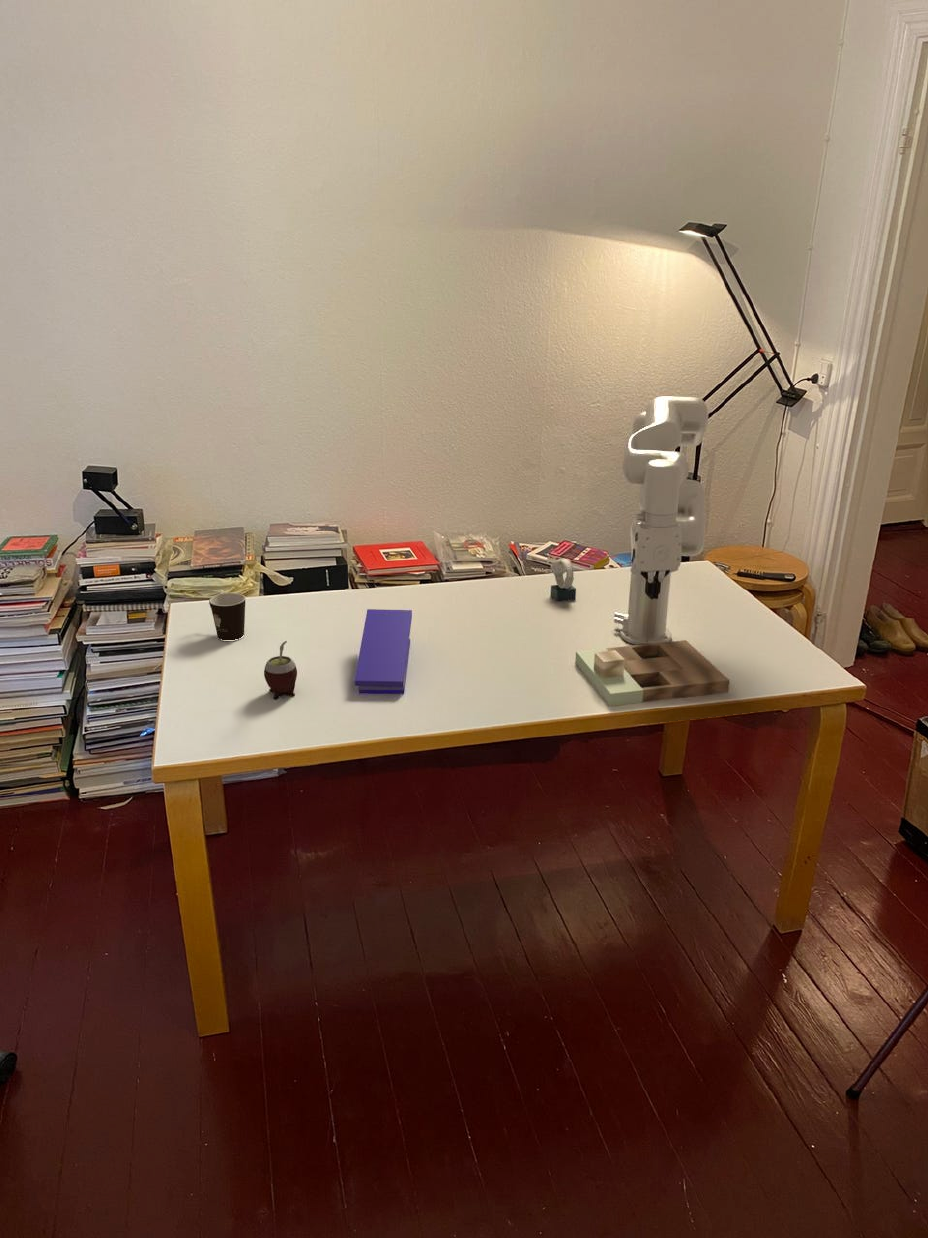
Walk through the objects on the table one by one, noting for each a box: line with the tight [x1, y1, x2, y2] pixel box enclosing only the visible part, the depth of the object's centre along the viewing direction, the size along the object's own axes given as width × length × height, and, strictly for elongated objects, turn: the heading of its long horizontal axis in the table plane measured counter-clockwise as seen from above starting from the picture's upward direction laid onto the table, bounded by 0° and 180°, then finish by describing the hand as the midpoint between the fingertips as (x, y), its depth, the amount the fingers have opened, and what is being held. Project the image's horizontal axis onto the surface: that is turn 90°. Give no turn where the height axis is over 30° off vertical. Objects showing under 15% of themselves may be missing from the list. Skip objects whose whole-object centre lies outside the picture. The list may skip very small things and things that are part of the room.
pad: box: [574, 647, 643, 707], centre depth 226 cm, size 8×22×3 cm, turn 14°
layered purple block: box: [353, 608, 413, 695], centre depth 231 cm, size 12×28×10 cm, turn 0°
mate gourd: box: [263, 640, 298, 701], centre depth 217 cm, size 8×8×15 cm
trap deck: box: [606, 640, 731, 703], centre depth 229 cm, size 20×22×3 cm
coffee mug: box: [208, 592, 246, 640], centre depth 247 cm, size 12×9×10 cm
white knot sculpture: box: [550, 557, 577, 603], centre depth 271 cm, size 6×8×11 cm
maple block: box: [594, 650, 625, 678], centre depth 223 cm, size 5×5×4 cm
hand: (652, 596), depth 221 cm, fingers closed
